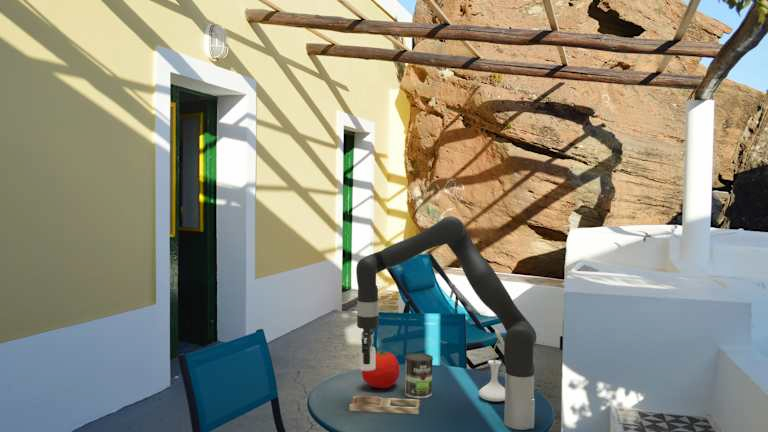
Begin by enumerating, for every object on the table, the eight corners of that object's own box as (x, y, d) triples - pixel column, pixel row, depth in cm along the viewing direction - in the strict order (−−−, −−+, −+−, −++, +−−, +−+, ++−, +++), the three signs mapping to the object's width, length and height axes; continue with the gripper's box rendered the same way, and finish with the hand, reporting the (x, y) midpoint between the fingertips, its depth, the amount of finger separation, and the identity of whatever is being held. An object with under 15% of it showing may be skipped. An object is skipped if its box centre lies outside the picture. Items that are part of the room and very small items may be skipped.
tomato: (390, 379, 244) (391, 345, 243) (406, 390, 232) (406, 354, 231) (354, 384, 238) (355, 350, 237) (368, 396, 225) (368, 359, 224)
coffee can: (436, 397, 225) (436, 359, 224) (409, 399, 222) (410, 361, 221) (426, 388, 235) (427, 352, 234) (401, 390, 232) (401, 353, 231)
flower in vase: (507, 406, 216) (509, 336, 215) (475, 402, 220) (477, 333, 219) (512, 394, 229) (513, 328, 227) (481, 390, 232) (483, 325, 231)
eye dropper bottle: (373, 372, 211) (373, 337, 210) (358, 370, 212) (358, 336, 211) (376, 368, 215) (376, 334, 214) (361, 367, 216) (361, 333, 215)
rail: (419, 405, 216) (419, 398, 216) (418, 414, 208) (418, 407, 208) (353, 401, 219) (353, 395, 219) (349, 410, 210) (349, 404, 210)
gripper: (376, 318, 205) (375, 368, 206) (380, 309, 219) (380, 356, 220) (354, 317, 206) (353, 367, 206) (360, 309, 220) (359, 355, 221)
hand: (367, 361), depth 213 cm, fingers closed on eye dropper bottle, 4 cm apart
